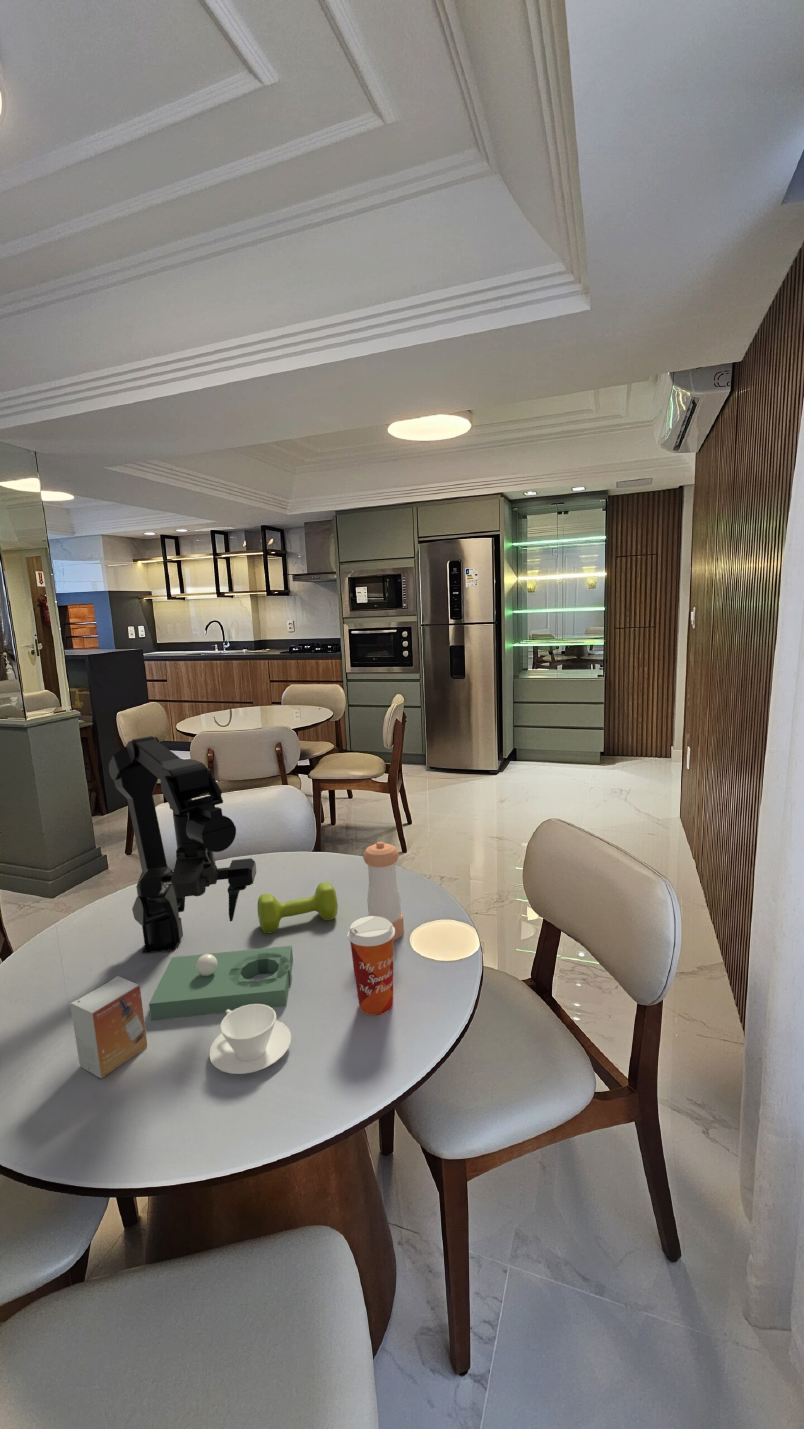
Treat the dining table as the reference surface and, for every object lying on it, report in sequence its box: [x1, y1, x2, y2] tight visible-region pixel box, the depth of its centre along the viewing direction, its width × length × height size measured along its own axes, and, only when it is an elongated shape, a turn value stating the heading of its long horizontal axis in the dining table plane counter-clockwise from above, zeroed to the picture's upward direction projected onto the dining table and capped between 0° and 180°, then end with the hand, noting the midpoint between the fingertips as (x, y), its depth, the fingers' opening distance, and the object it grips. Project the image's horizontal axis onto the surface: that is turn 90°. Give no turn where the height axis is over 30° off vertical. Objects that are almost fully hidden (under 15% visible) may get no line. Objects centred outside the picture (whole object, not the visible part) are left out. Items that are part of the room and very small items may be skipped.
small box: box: [69, 975, 148, 1079], centre depth 94 cm, size 8×6×10 cm
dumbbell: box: [256, 881, 339, 934], centre depth 133 cm, size 16×8×7 cm, turn 109°
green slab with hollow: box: [148, 945, 294, 1021], centre depth 111 cm, size 22×14×3 cm, turn 95°
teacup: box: [208, 1004, 292, 1075], centre depth 94 cm, size 12×12×5 cm
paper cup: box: [347, 916, 395, 1016], centre depth 103 cm, size 8×8×14 cm
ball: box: [196, 953, 218, 976], centre depth 110 cm, size 4×4×4 cm
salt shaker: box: [362, 841, 405, 941], centre depth 125 cm, size 7×7×19 cm
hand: (204, 923), depth 109 cm, fingers open, 9 cm apart
